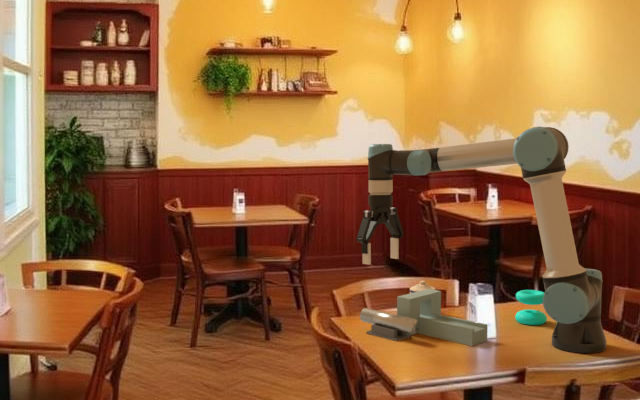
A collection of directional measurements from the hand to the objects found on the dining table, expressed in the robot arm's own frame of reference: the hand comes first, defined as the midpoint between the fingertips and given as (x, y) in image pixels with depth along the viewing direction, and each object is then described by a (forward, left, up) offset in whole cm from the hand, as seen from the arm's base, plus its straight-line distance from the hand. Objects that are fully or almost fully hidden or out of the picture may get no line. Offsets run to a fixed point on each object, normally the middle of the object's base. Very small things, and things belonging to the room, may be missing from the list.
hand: (380, 261), depth 238 cm
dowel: (-6, +3, -20) cm, 21 cm away
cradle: (-6, +3, -22) cm, 23 cm away
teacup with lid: (+3, -26, -22) cm, 34 cm away
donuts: (-29, -42, -22) cm, 56 cm away
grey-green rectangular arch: (-8, -9, -22) cm, 25 cm away
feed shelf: (-21, -9, -22) cm, 32 cm away
